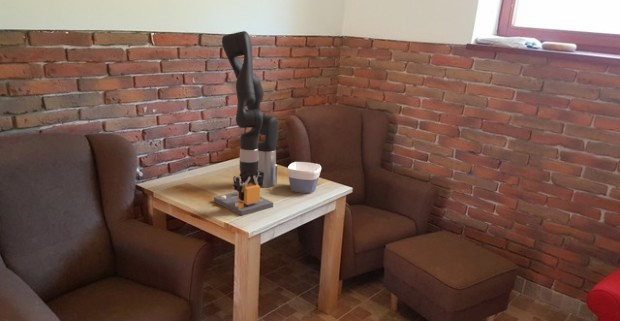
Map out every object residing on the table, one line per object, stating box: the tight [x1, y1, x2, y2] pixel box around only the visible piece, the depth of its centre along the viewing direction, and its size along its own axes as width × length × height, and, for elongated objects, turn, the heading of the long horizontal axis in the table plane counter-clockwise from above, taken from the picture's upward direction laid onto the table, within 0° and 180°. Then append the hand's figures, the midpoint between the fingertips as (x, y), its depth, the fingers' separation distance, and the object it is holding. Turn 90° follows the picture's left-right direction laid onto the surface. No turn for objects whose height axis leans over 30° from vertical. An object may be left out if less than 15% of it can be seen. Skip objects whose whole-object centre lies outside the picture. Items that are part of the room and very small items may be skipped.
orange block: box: [238, 183, 261, 204], centre depth 188 cm, size 6×6×7 cm
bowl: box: [286, 161, 322, 194], centre depth 214 cm, size 15×15×11 cm
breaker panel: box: [213, 191, 274, 217], centre depth 193 cm, size 16×20×4 cm
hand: (248, 198), depth 188 cm, fingers closed on orange block, 6 cm apart
